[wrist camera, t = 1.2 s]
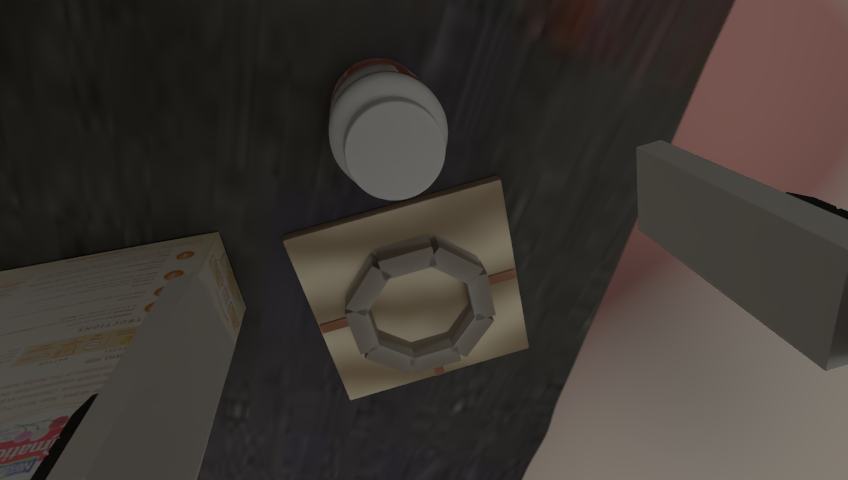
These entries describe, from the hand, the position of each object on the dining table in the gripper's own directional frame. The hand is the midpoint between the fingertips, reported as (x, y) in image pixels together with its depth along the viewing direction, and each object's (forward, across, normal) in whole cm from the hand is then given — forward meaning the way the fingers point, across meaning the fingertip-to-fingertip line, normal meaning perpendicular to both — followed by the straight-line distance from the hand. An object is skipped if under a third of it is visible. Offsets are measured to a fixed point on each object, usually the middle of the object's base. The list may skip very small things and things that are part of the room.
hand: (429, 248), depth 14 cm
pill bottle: (+20, 0, 0) cm, 20 cm away
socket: (+20, -1, -15) cm, 25 cm away
